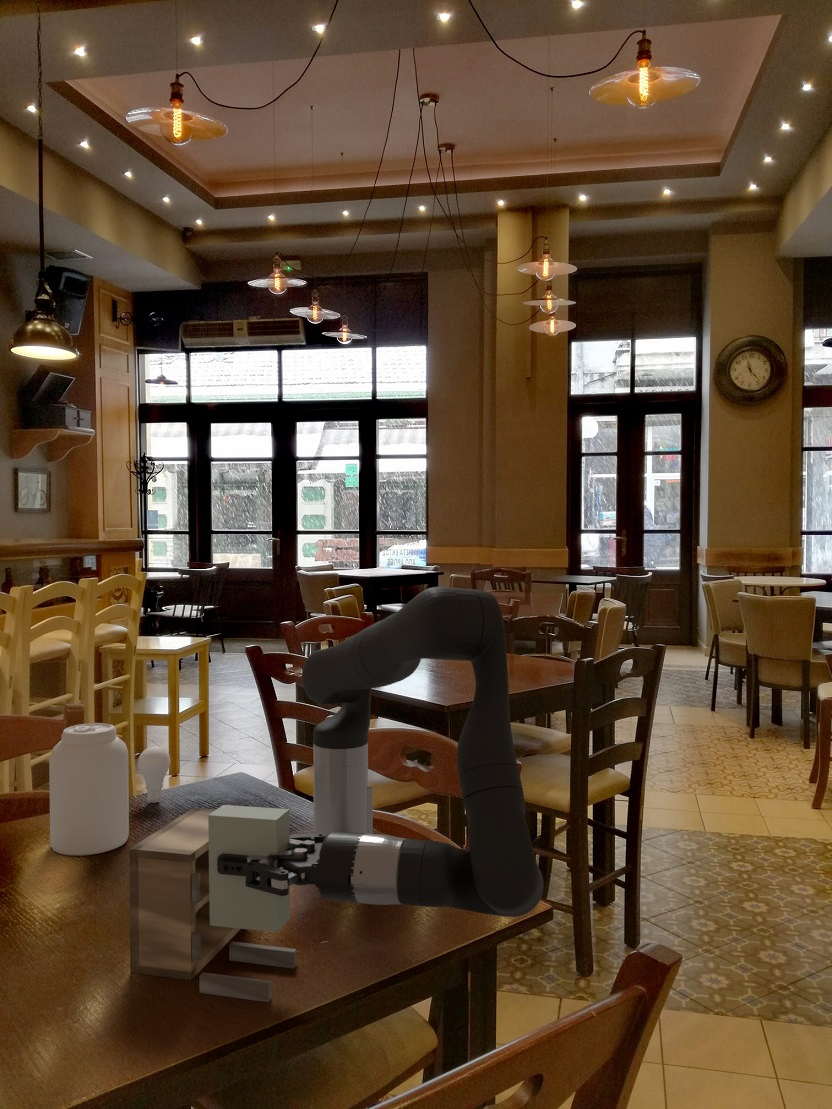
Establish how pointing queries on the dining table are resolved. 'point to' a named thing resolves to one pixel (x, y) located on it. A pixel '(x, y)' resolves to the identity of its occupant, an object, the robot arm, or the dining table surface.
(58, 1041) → the dining table surface
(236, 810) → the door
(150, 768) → the lightbulb
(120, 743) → the can
